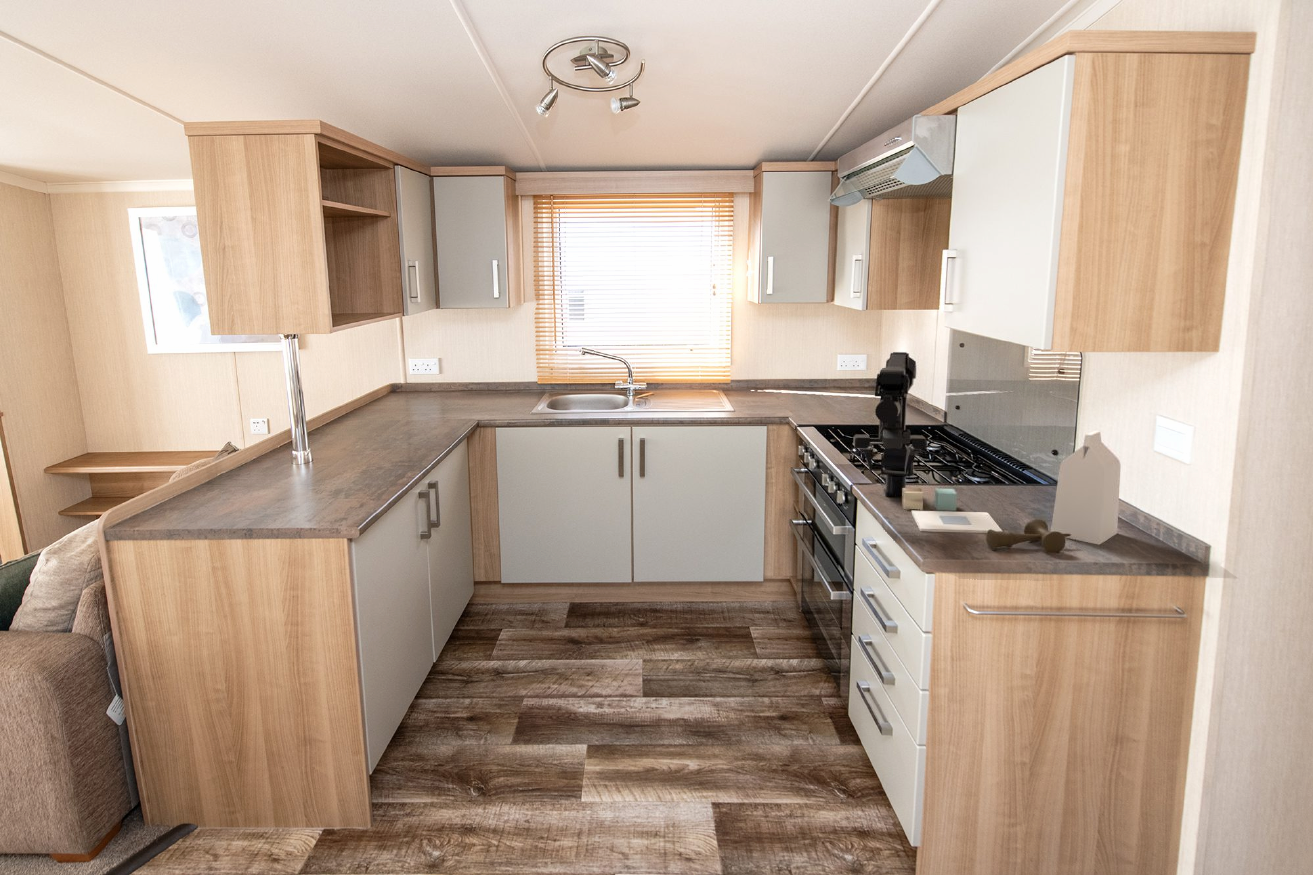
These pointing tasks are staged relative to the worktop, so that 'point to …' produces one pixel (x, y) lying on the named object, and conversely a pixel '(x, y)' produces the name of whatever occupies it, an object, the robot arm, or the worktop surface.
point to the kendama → (1028, 537)
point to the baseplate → (955, 521)
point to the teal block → (945, 499)
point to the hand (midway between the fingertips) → (888, 472)
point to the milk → (1088, 493)
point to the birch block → (912, 498)
